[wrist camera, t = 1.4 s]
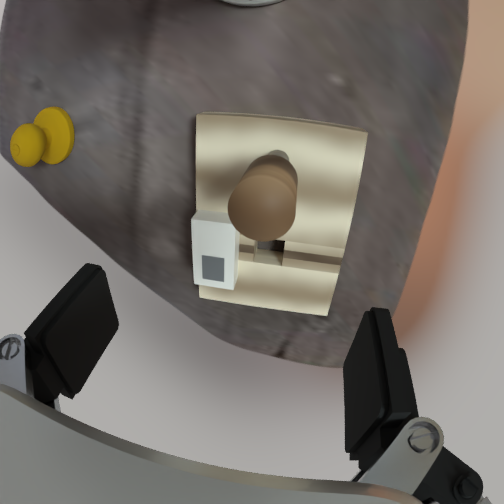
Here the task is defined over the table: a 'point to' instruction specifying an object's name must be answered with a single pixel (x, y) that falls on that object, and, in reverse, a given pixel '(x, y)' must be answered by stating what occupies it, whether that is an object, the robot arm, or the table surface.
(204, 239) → the block
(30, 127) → the doorknob
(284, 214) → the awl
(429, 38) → the table surface
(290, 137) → the cream slotted tray
